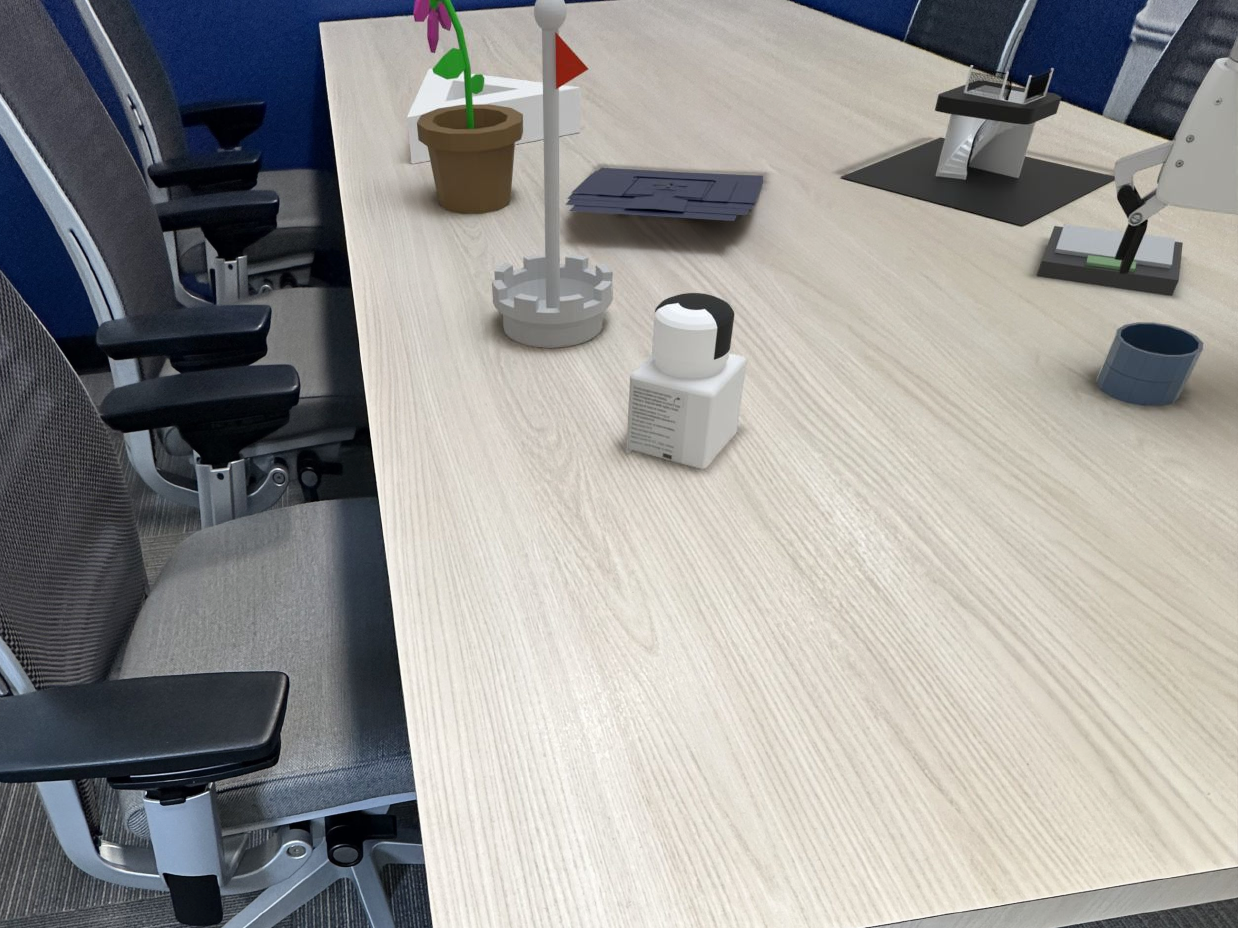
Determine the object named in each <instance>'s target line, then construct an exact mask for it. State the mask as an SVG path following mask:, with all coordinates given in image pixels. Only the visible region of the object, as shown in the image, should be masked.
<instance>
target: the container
mask: <svg viewBox="0 0 1238 928" xmlns="http://www.w3.org/2000/svg"><path fill="white" fill-rule="evenodd" d="M734 322H735V311H734V309H733V308H732V306H731V304H730V303H728V302H727V301H725V300H724V299H723V298H720V297H717V296H715V295H713V294H712V295H711V294H709V293H702V292H686V293H679V294H675V295H673V296H670V297H668V298H665V299H664V300H662V301H660V303H659V304H658V305H657V306H656V307H655V309H654V317H653V331H652V346H651V347H652V348H651V355H650V356H648V357H647V359H645V360H644V362H642V363H641V364H640V365H639V366H638V367H637V368H636V369H635V370H634V371H633V372H631V374H630V376H629V391H628V408H627V411H628V412H627V414H628V415H627V429H626V430H627V431H626V446H625V447H626V453H628V454H630V453H631V452H632V451H634V452H638V453H642V454H646V455H648V456H653V457H657V458H660V459H663V460H667V461H671V462H674V463H677V464H681V465H686V466H689V467H693V468H697V469H700V470H704V469H705V470H706V468H707V467H708V466H709V465H710V464H711V463H712V462H713V461H714V459H715V458H716V457H717V456H718V454H719V453H720V452H721V451H722V450H723V449H724V448H725V446H726V445H727V444H728V443H729V442H730V441H731V439H732V438H733V437H734V436H735V435H736V433H737V432H738V427H739V426H738V425H739V419H740V411H741V404H742V398H743V392H744V391H743V390H744V383H745V377H746V370H747V362H748V361H747V357H745V356H743V355H739V354H735V353H731V344H732V339H733V338H732V337H733V330H734V329H733V328H734Z"/></svg>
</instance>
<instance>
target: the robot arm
mask: <svg viewBox="0 0 1238 928" xmlns="http://www.w3.org/2000/svg"><path fill="white" fill-rule="evenodd" d="M1158 165H1161V167H1160V170H1159V173H1158V175H1157V179H1156V184H1157V186H1156V187H1155V188H1153V189H1152V190H1151V191H1149V192H1148V193H1146V194H1145V195H1143V196H1142V197H1141V196H1140V193H1139V191H1138V190H1137V188H1136V186H1135V183H1134V182H1135V181H1134V175H1135V174H1136V173H1138V172H1140V171H1143V170H1147V169H1149V168H1152V167H1155V166H1158ZM1113 174H1114V175H1113V176H1115V179H1114V182H1115V189H1116V200H1117V201H1118V204H1119V205H1120V207H1121V209H1122V211H1123V213H1124V214H1125V216H1126V218H1127V222H1128V224H1127V226H1126V228H1125V231H1124V232H1125V233H1124V236H1123V238H1122V240H1121V243H1120V245H1119V248H1118V250H1117V253H1116V256H1115V260H1122V261H1121V264H1120V269H1119V273H1118V274H1123V275H1125V273H1128V272H1129V270H1130V267H1131V265H1132V263H1133V260H1134V258H1135V256H1136V253H1137V251H1138V248H1139V246H1140V244H1141V241H1142V239H1143V237H1144V234H1146V232H1147V228H1148V223H1149V219H1150V218H1151V217H1153V216H1155V215H1156V214H1157V213H1158V212H1160V211H1162V210H1163V209H1164V208H1166V207H1167V206H1170V207H1174V208H1182V209H1186V210H1187V209H1189V210H1196V211H1203V212H1210V213H1216V214H1217V213H1218V214H1225V215H1232V216H1238V35H1236V39H1235V41H1234V43H1233V45H1232V48H1231V50H1230V52H1229V55H1228V56H1227V57H1222V58H1217V59H1216V60H1215V61H1214V62H1213V64H1212V66H1211V67H1210V68H1209V70H1208V72H1207V73H1206V75H1205V77H1204V79H1202V82H1201V84H1200V86H1199V87H1198V89H1197V91H1196V93H1195V94H1194V96H1193V98H1192V101H1191V102H1190V104H1189V106H1188V108H1187V110H1186V112H1185V114H1184V116H1183V118H1182V121H1181V122H1180V124H1179V127H1178V129H1177V131H1176V133H1175V136H1174V137H1173V139H1172V140H1169V141H1167V142H1163V143H1161V144H1158V145H1155V146H1152V147H1149V148H1146V149H1143V150H1140V151H1136V152H1134V153H1131V154H1128V155H1125V156H1122V157H1120V158H1118V159H1117V160H1116V161H1115V163H1114V167H1113Z"/></svg>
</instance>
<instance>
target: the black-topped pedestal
mask: <svg viewBox="0 0 1238 928" xmlns="http://www.w3.org/2000/svg"><path fill="white" fill-rule="evenodd" d="M1054 69H1055V68H1053V67H1051V68H1050V70H1048V71H1046V72H1043V73H1039V74H1037V75H1035V76H1033V75H1031V74H1030V75H1028V79H1027V83H1026V86H1025V87H1021V86H1015V85H1013V83H1012V77H1011V75H1010V73H1009V71H1006V72H1005V71H1004V72H1003V71H998V70H991V69H986V68H981V67H976V66H974V65H972V64H971V65H970V67H969V71H968V73H967V74H968V75H967V78H966V82H965V84H963V85H960V86H957V87H954V88H952V89H949V90H946V91H943V92H941V93H938V95H937V98H936V103H935V107H934V111H935V112H938V113H943V114H947V115H950V117H949V121H948V124H947V128H946V133H945V137H941V136H940V137H938V138H935V139H933V140H929V141H928V142H925V143H923V144H920V145H918V146H915V147H912V148H910V149H908V150H905V151H902V152H900V153H897V154H894V155H892V156H889V157H887V158H885V159H882V160H879V161H877V162H874V163H872V164H869V165H867V166H864V167H862V168H858V169H856V170H854V171H852V172H849V173H847V174H846V173H845V174H844V175H842V176H840V178H842V179H847V180H850V181H853V182H858V183H861V184H865V185H869V186H872V187H876V188H879V189H883V190H887V191H890V192H891V191H892V192H894V193H898V194H903V195H906V196H909V197H910V196H911V197H913V198H918V199H921V200H924V201H928V202H933V203H937V204H940V205H944V206H947V207H951V208H956V209H959V210H962V211H966V212H970V213H973V214H978V215H982V216H985V217H990V218H993V219H997V220H1000V221H1004V222H1007V223H1013V224H1015V225H1018V226H1025V225H1027V224H1029V223H1030V222H1032V221H1035V220H1036V219H1039V218H1041V217H1043V216H1045V215H1047V214H1049V213H1051V212H1052V211H1055V210H1056V209H1059V208H1060V207H1062V206H1065V205H1067V204H1068V203H1070V202H1072V201H1074V200H1077V199H1078V198H1080V197H1081V196H1085V195H1086V194H1088V193H1090V192H1092V191H1095V190H1096V189H1098V188H1101V187H1102V186H1104V185H1106V184H1108V183H1110V182H1112V181H1115V175H1112V174H1107V173H1102V172H1097V171H1092V170H1090V169H1089V170H1088V169H1083V168H1080V167H1075V166H1070V165H1065V164H1061V163H1057V162H1052V161H1048V160H1043V159H1039V158H1036V157H1035V158H1034V157H1030V156H1026V155H1027V151H1028V149H1029V145H1030V142H1031V139H1032V135H1033V133H1034V129H1035V126H1036V123H1037V122H1039V121H1041V120H1045V119H1047V118H1050V117H1052V116H1054V115H1056V114H1057V113H1058V110H1059V107H1060V104H1061V101H1062V96H1060V95H1059V94H1056V93H1054V92H1048V89H1049V86H1050V83H1051V79H1052V77H1053V72H1054Z"/></svg>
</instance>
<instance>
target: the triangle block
mask: <svg viewBox="0 0 1238 928" xmlns="http://www.w3.org/2000/svg"><path fill="white" fill-rule="evenodd" d="M475 74H476V73H471V77H473V76H474V75H475ZM482 75H483V77H484V86H483V91H482V92H480V93H478V94H474V93H472V101H473V105H480V104H490V105H496V106H503V107H509V108H512V109H514V110H516V111H518V112H520V113H521V114H523V134H522V138H521V140H519V141H517V142H515V146H516V145H520V144H521V145H522V144H526V143H531V142H536V141H542V140H544V132H543V82H541V81H532V80H525V79H516V78H509V77H503V76H502V77H501V76H493V75H485V74H482ZM457 105H466V100H465V84H464V71H463V72H462V73H461V74H460V76H459V77H458V78H455V79H445V78H443V77H441V76H438V75H436V74H434V73H433V68H430V67H429V68H428V69H427V72H426V74H425V77H424V78H423V81H422V83H421V85H420V88H419V90H418V92H417V93H416V96H415V99H414V100H413V102H412V105H411V106H410V108H409V109H410V110H409V112H408V114H407V116H406V122H407V131H408V142H409V152H410V161H411V165H415V164H421V163H425V162H430V157H429V152H428V147H427V146H426V145H424V144H423V143H422V142H420V141H419V140H418V130H417V122H418V120H419V118H420V116H421V115H423V114H425V113H428V112H430V111H433V110H436V109H438V108H445V107H451V106H457ZM579 133H581V87H579V86H572V85H566V84H564V85H563V86H561V87H559V137H563V136H568V135H573V134H579Z"/></svg>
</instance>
